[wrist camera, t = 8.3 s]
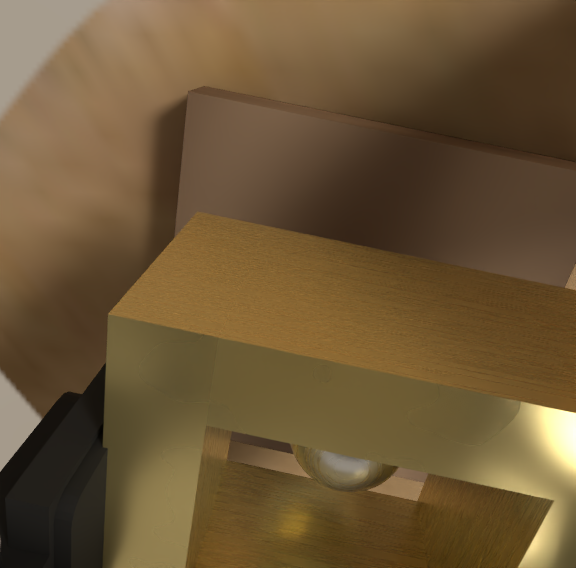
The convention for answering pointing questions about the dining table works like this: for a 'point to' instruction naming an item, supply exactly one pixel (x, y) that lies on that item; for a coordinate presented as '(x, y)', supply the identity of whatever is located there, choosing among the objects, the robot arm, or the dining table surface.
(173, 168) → the dining table surface
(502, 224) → the keeper block
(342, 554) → the square wooden frame
